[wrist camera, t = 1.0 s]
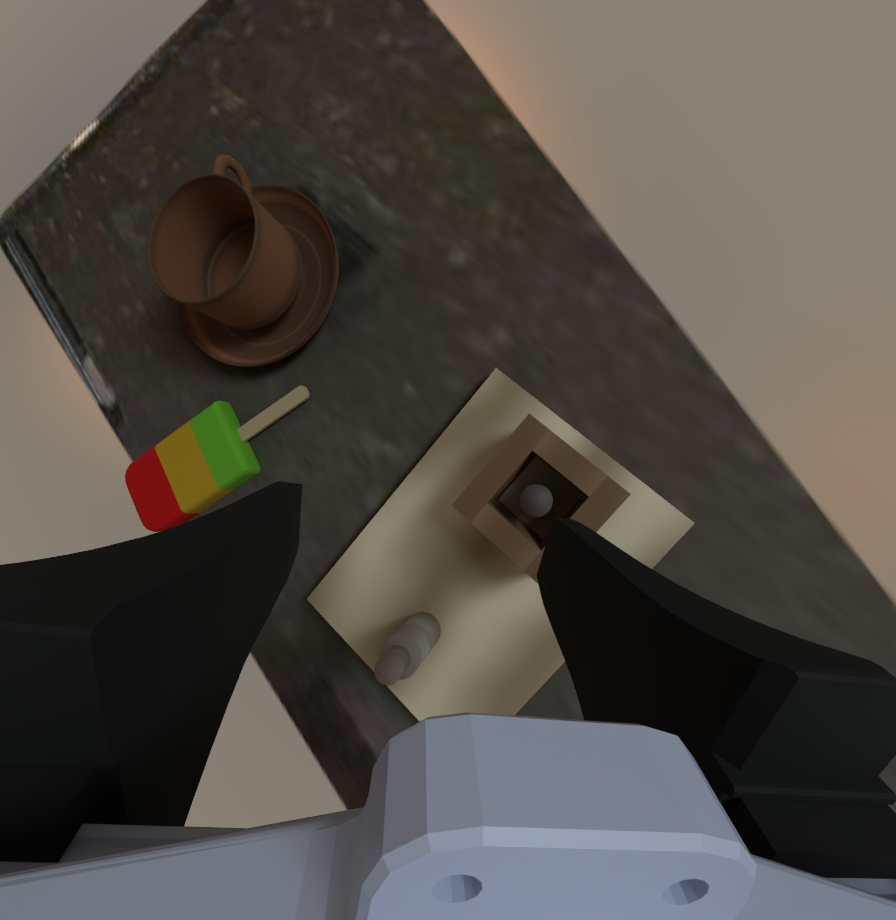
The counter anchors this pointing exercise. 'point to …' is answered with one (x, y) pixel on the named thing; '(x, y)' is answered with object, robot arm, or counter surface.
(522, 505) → the fitting board
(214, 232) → the cup and saucer
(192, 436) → the popsicle
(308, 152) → the counter surface
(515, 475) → the collar
